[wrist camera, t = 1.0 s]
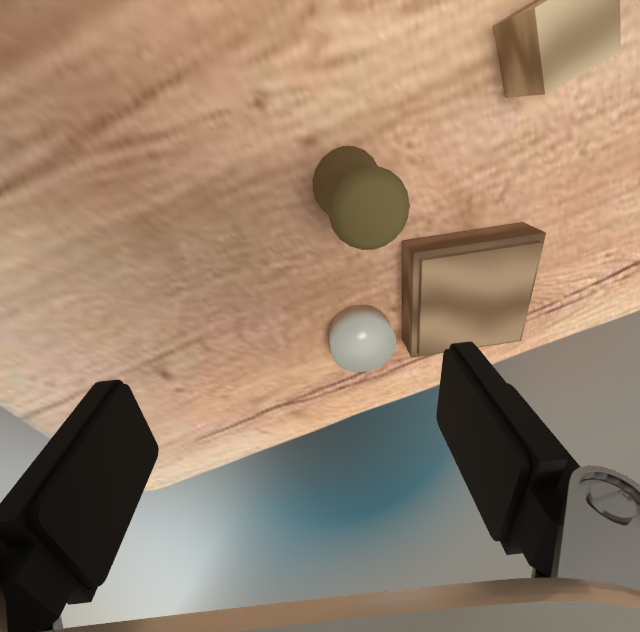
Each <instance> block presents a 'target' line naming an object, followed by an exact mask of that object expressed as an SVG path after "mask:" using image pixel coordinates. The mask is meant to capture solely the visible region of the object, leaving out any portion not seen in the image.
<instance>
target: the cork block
mask: <svg viewBox="0 0 640 632" xmlns="http://www.w3.org/2000/svg"><path fill="white" fill-rule="evenodd" d="M493 29H494V34H495V40H496V46H497V52H498V57H499V63H500V69H501V74H502V80H503V86H504V92H505V97H517V96H530V95H543V94H547V93H548V92H550V91H552V90H554V89H556V88H558V87H560V86H561V85H563V84H565V83H567V82H569V81H571V80H572V79H574V78H576V77H578V76H580V75H582V74H583V73H585V72H587V71H589V70H591V69H593V68H594V67H596V66H598V65H600V64H602V63H604V62H605V61H607V60H609V59H611V58H613V57H615V56H616V55H618V54H620V53H621V40H620V0H535V1H534V2H532V3H530V4H529V5H527V6H525V7H524V8H522V9H520V10H519V11H517V12H515V13H514V14H512V15H510V16H509V17H507V18H505V19H504V20H502V21H500V22H499V23H497V24H495V25H493Z"/></svg>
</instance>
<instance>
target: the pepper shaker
mask: <svg viewBox="0 0 640 632" xmlns="http://www.w3.org/2000/svg"><path fill="white" fill-rule="evenodd" d="M313 191H314V194H315V197H316V201H317V202H318V203H319V205H320V206H321V208H322V209H323V210H324V211H326V212H327V213H328V214H329V218H330V221H331V225H332V228H333V230H334V231H335V233H336V234H337V236H338V237H339V238H340V239H341V240H342V241H344V242H345V243H346V244H348V245H349V246H352V247H355V248H358V249H362V250H371V249H376V248H379V247H382V246H385V245H387V244H388V243H390V242H391V241H392V240H394V239H395V238H396V237H397V236H398V235H399V233H400V232H401V231H402V230H403V228H404V226H405V223H406V221H407V219H408V214H409V207H410V204H409V198H408V193H407V190H406V188H405V186H404V184H403V183H402V181H401V179H400V178H398V177H397V176H396V175H395V174H394V173H393V172H392V171H390V170H387V169H384V168H382V167H379V166H377V164H376V163H375V161H374V159H373V157H371V156H370V155H369V154H368V153H367V152H366V151H365V150H362V149H360V148H357V147H354V146H343V147H340V148H337V149H334V150H332V151H331V152H329V153H328V154H327V155H326V156H324V157H323V158H322V160H321V161H320V163H319V164H318V166H317V167H316V171H315V174H314V177H313Z"/></svg>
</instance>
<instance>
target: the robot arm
mask: <svg viewBox="0 0 640 632" xmlns="http://www.w3.org/2000/svg"><path fill="white" fill-rule="evenodd" d="M437 422H438V425H439V428H440V430H441V432H442V434H443V436H444V438H445V440H446V442H447V445H448V447H449V449H450V451H451V453H452V455H453V457H454V459H455V462H456V464H457V465H458V468H459V470H460V472H461V474H462V476H463V478H464V480H465V482H466V485H467V487H468V489H469V491H470V493H471V495H472V497H473V500H474V501H475V504H476V506H477V508H478V510H479V512H480V514H481V517H482V519H483V521H484V523H485V525H486V527H487V529H488V531H489V533H490V535H491V537H492V538H493V540H495V541H500V542H501V544H502V546H503V548H504V551H505V553H506V555H511V554H519V553H523V554H524V556H525V558H526V560H527V562H528V563H529V565H530V566H532V567H533V570H532V575H531V578H521V579H507V580H496V581H484V582H473V583H461V584H450V585H439V586H431V587H421V588H413V589H403V590H394V591H384V592H375V593H366V594H357V595H347V596H338V597H330V598H320V599H311V600H303V601H294V602H285V603H276V604H267V605H258V606H250V607H241V608H232V609H223V610H214V611H206V612H197V613H189V614H180V615H172V616H163V617H155V618H146V619H139V620H130V621H121V622H113V623H105V624H96V625H88V626H80V627H72V628H65V629H63V624H62V619H61V613H62V611H63V609H64V607H65V605H66V603H68V604H79V603H87V602H91V601H92V599H93V597H94V595H95V592H96V590H97V588H98V586H100V585H102V584H103V583H104V581H105V580H106V578H107V576H108V573H109V571H110V569H111V566H112V564H113V561H114V559H115V557H116V554H117V552H118V549H119V547H120V545H121V542H122V540H123V538H124V535H125V533H126V531H127V528H128V526H129V524H130V521H131V519H132V516H133V514H134V512H135V509H136V507H137V505H138V502H139V500H140V497H141V495H142V493H143V490H144V488H145V486H146V483H147V481H148V479H149V476H150V474H151V471H152V469H153V467H154V464H155V462H156V460H157V457H158V445H157V442H156V440H155V438H154V436H153V434H152V432H151V430H150V428H149V426H148V424H147V422H146V420H145V418H144V416H143V414H142V412H141V410H140V408H139V406H138V403H137V401H136V399H135V397H134V395H133V393H132V391H131V389H130V387H129V386H128V385H127V384H123V382H122V381H120V380H110V381H101V382H97V383H95V384H94V385H93V386H92V388H91V389H90V390H89V391H88V393H87V394H86V395H85V396H84V398H83V399H82V400H81V402H80V403H79V404H78V405H77V407H76V408H75V409H74V410H73V412H72V413H71V414H70V416H69V417H68V418H67V419H66V421H65V422H64V423H63V424H62V426H61V427H60V428H59V430H58V431H57V432H56V433H55V435H54V436H53V437H52V438H51V440H50V441H49V442H48V444H47V445H46V446H45V447H44V449H43V450H42V451H41V452H40V454H39V455H38V456H37V457H36V459H35V460H34V461H33V463H32V464H31V465H30V466H29V468H28V469H27V470H26V472H25V473H24V474H23V475H22V477H21V478H20V479H19V480H18V482H17V483H16V484H15V485H14V487H13V488H12V489H11V491H10V492H9V493H8V494H7V496H6V497H5V498H4V499H3V501H2V502H1V503H0V632H640V485H639V484H638V483H636V482H635V481H634V480H632V479H630V478H629V477H627V476H625V475H623V474H621V473H619V472H617V471H615V470H612V469H608V468H605V467H600V466H590V465H589V466H584V467H580V466H579V465H578V463H577V462H576V461H575V460H574V459H573V457H572V456H571V455H570V454H569V453H568V451H567V450H566V449H565V448H564V447H563V445H562V444H561V443H560V442H559V441H558V439H557V438H556V437H555V436H554V435H553V433H552V432H551V431H550V430H549V429H548V428H547V426H546V425H545V424H544V423H543V421H542V420H541V419H540V418H539V417H538V415H537V414H536V413H535V412H534V411H533V409H532V408H531V407H530V406H529V405H528V403H527V402H526V401H525V400H524V399H523V398H522V396H521V395H520V394H519V393H518V391H517V390H516V389H515V388H514V387H513V386H512V385H510V384H508V383H506V382H505V381H504V379H503V378H502V377H501V376H500V374H499V373H498V372H497V371H496V370H495V368H494V367H493V366H492V365H491V363H490V362H489V361H488V360H487V358H486V357H485V356H484V355H483V354H482V352H481V351H480V350H479V349H478V347H477V346H476V345H475V344H474V343H473V342H471V341H470V342H461V343H452V344H451V345H450V347H449V349H445V350H444V354H443V363H442V372H441V380H440V389H439V398H438V407H437Z"/></svg>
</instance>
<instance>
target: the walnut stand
mask: <svg viewBox="0 0 640 632" xmlns="http://www.w3.org/2000/svg"><path fill="white" fill-rule="evenodd" d="M545 235H546V233H545V232H543V231H541V230H539V229H537V228H535V227H532V226H530V225H528V224H526V223H524V222H522V223H515V224H509V225H502V226H496V227H489V228H482V229H476V230H469V231H463V232H456V233H450V234H443V235H437V236H430V237H423V238H417V239H410V240H404V241H402V340H403V342H404V344H405V346H406V348H407V350H408V352H409V354H410V356H411V358H413V357H419V356H426V355H432V354H439V353H444V350H445V349H449V347H450V345H451V344H452V343H461V342H470V341H471V342H473V343H474V344H475V345H476V346H477V347H484V346H491V345H497V344H503V343H510V342H516V341H521V339H522V335H523V330H524V326H525V322H526V317H527V313H528V309H529V304H530V300H531V296H532V291H533V287H534V283H535V278H536V274H537V270H538V265H539V261H540V256H541V252H542V248H543V243H544V239H545Z"/></svg>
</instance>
